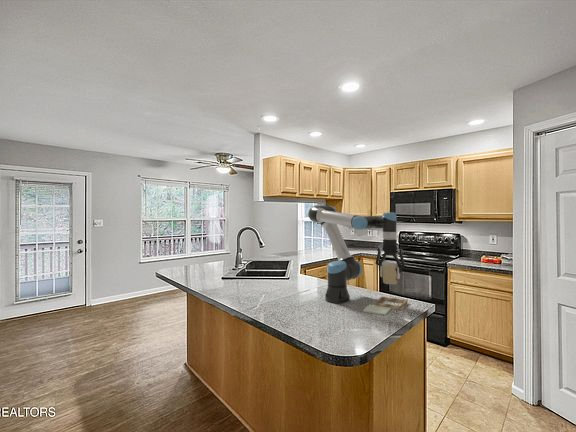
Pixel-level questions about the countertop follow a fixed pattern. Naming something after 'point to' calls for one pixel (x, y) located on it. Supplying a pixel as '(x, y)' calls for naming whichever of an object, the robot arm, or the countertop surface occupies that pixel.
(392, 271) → the coffee cup
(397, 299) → the oak frame
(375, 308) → the sage tile
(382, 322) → the countertop surface
